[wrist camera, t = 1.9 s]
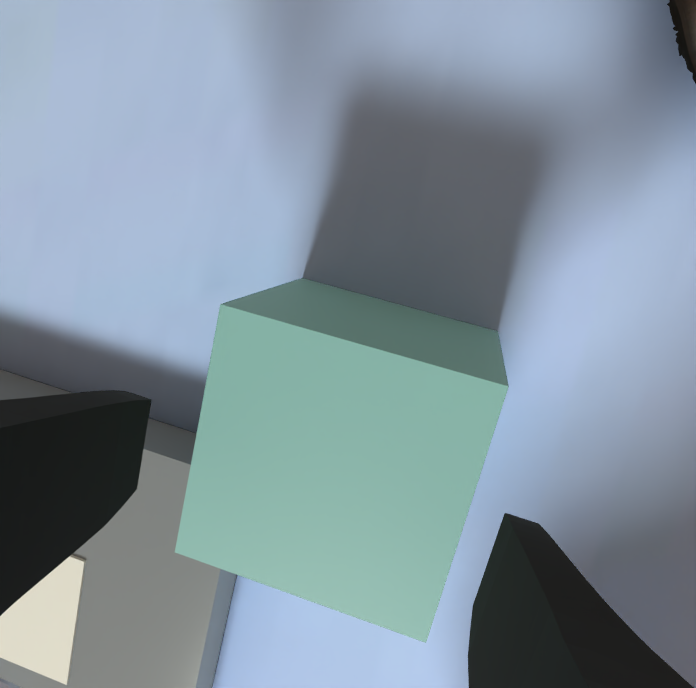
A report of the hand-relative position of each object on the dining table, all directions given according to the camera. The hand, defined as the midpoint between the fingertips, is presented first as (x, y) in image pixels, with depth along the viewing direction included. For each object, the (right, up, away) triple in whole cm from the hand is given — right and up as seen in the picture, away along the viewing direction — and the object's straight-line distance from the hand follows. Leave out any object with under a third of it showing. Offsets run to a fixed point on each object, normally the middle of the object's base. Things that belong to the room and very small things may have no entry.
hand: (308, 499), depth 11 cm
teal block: (+2, +1, +7) cm, 7 cm away
